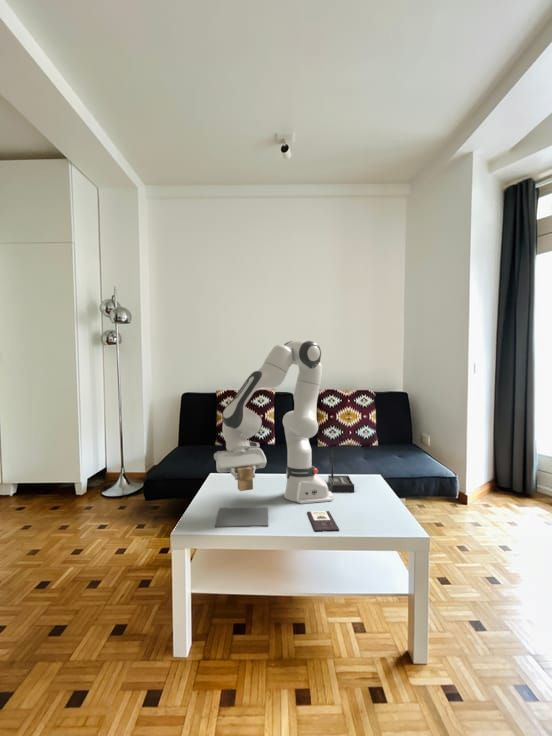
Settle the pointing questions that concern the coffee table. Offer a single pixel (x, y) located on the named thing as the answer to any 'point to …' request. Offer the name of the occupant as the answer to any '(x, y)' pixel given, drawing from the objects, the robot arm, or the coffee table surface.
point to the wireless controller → (339, 481)
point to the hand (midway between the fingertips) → (245, 478)
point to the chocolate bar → (322, 521)
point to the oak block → (245, 478)
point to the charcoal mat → (242, 517)
